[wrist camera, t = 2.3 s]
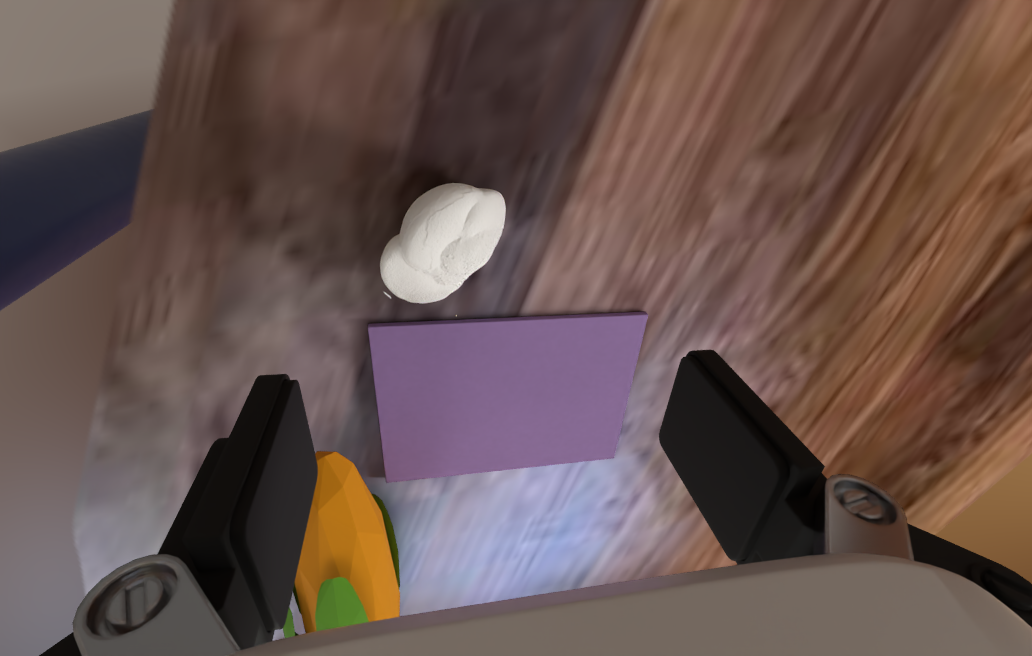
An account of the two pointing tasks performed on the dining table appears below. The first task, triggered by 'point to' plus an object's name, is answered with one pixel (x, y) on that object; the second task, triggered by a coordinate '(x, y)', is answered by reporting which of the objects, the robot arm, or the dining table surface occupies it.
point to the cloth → (501, 391)
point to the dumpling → (442, 241)
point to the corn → (345, 553)
